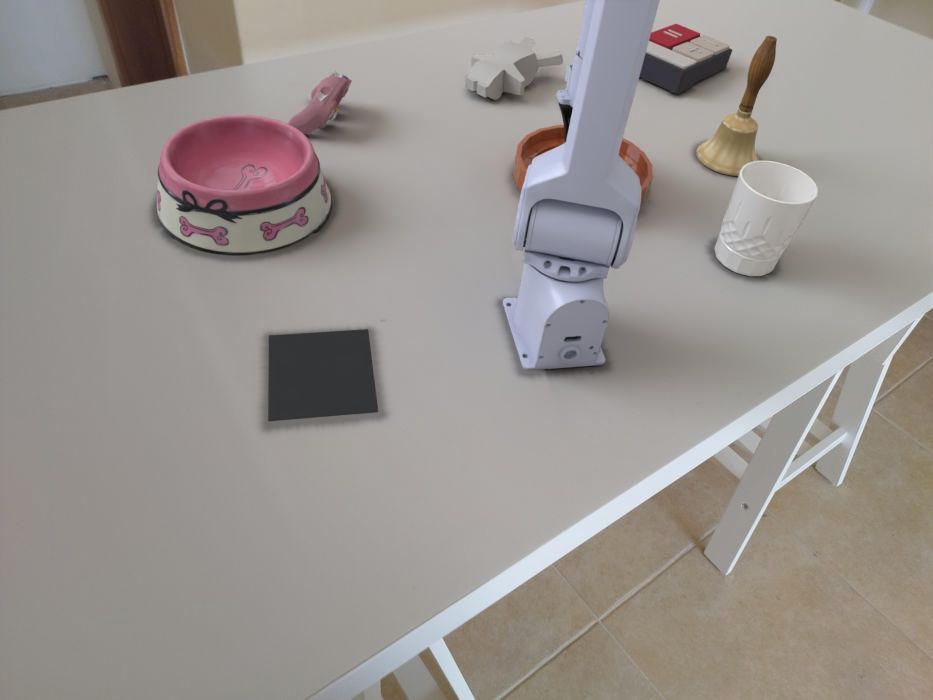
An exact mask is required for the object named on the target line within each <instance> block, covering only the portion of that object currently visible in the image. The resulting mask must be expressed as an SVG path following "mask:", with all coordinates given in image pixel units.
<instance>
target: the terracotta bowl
mask: <svg viewBox="0 0 933 700" xmlns="http://www.w3.org/2000/svg"><path fill="white" fill-rule="evenodd" d="M564 143H565V136H564V124H562V125H561V124H560V125H559V124H557V125H556V124H555V125H552V126H546V127H541V128H538V129H536V130H534V131H531V132H530V133H528V134H526V135H525V136H524V137H523V138H522V139H521V140H520V142H519V143H518V144H517V147H516V153H515V159H514V167H513V172H512V177H513V180H514V183H515V185H516V188H517V190H518V191H519V192H520V193H521V191H522V187H523V184H524V181H525V176H526V172H527V169H528V166H529V165H530V164H532V161H533V159H534V158H535V157H537V156H539V155H541V154H543V153H545V152H547V151H550V150H552V149H554V148H556V147H558V146H560V145H562V144H564ZM619 156H620V157H621V158H622V159H623V160H624V161H625V162H626V163H627V164H628V165H629V166H630V167H631V168H632V170H633V171H634V172H635V173H636V174H637V175H638V177H639V179H640V185H641V190H642V191H641V203H640V208H641V207H642V206H643V204H644V203H645V201H646V199H647V198H648V195H649V190H650V187H651V184H652V181H653V177H654V170H653V164H652V162H651V160H650V159H649V158H648V155H647V154H646V153H645V152H644V151H643V150H642V149H641V148H640V147H638V146H637V145H636V144H635V143H633V142H632V141H630V140H628V139H626V138H624V137H623V139H622V143H621V147H620V150H619Z"/></svg>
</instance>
